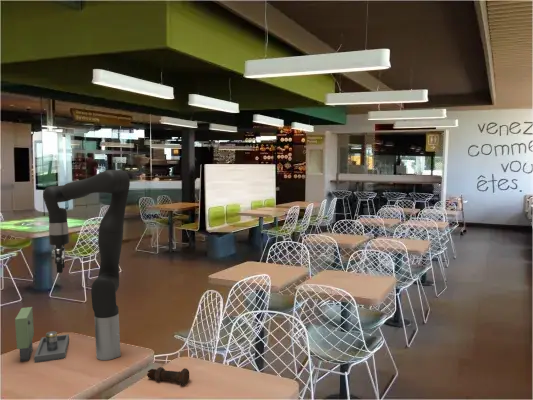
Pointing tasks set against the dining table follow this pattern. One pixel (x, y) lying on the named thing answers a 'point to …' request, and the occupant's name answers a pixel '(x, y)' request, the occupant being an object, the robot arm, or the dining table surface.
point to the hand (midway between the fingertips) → (60, 270)
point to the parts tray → (46, 355)
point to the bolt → (169, 375)
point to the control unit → (24, 333)
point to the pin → (51, 341)
